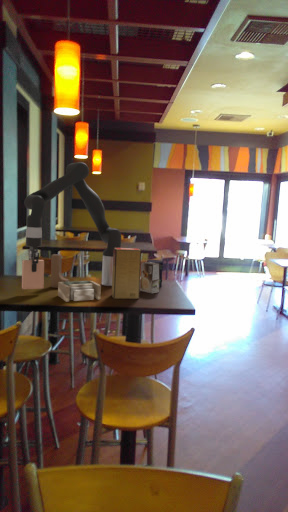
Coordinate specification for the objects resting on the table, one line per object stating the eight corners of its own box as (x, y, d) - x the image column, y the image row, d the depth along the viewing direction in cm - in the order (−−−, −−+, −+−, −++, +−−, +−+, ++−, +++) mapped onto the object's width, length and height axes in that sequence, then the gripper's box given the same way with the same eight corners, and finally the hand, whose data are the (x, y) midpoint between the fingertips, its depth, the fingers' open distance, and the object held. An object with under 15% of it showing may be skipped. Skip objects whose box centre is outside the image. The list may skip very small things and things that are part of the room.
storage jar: (162, 287, 231) (163, 262, 230) (145, 286, 231) (146, 261, 230) (161, 284, 241) (163, 260, 239) (145, 283, 241) (147, 259, 240)
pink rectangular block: (41, 287, 200) (42, 259, 198) (43, 288, 197) (44, 260, 196) (21, 288, 195) (22, 260, 193) (23, 289, 192) (23, 260, 191)
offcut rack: (90, 293, 206) (91, 280, 205) (100, 299, 194) (101, 285, 194) (57, 295, 197) (58, 281, 197) (66, 301, 186) (66, 287, 185)
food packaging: (135, 294, 209) (138, 248, 206) (139, 299, 200) (142, 250, 197) (110, 294, 206) (113, 247, 203) (113, 299, 197) (115, 249, 194)
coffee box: (159, 292, 218) (161, 263, 216) (151, 293, 213) (153, 264, 212) (147, 289, 224) (148, 261, 222) (139, 290, 220) (140, 262, 218)
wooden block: (68, 287, 219) (69, 255, 217) (66, 288, 215) (67, 256, 212) (53, 285, 220) (54, 253, 218) (50, 287, 216) (51, 254, 214)
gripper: (45, 237, 189) (44, 273, 191) (38, 235, 201) (37, 268, 203) (29, 237, 185) (28, 273, 187) (22, 235, 197) (22, 269, 199)
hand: (33, 271), depth 195 cm, fingers closed on pink rectangular block, 3 cm apart
